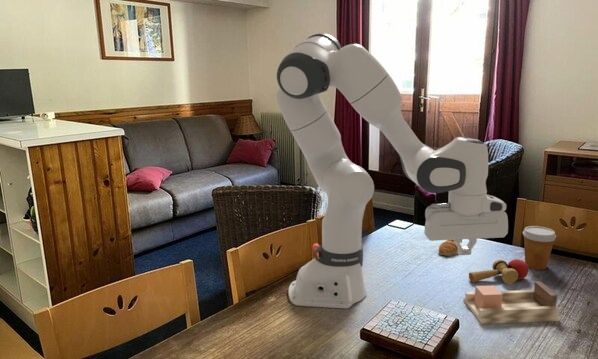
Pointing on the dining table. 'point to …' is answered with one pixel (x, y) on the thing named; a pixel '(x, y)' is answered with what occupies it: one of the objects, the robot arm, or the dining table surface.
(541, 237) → the disposable coffee cup
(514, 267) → the kendama
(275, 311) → the dining table surface
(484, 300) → the salmon pink cube
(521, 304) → the channel
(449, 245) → the pastry
